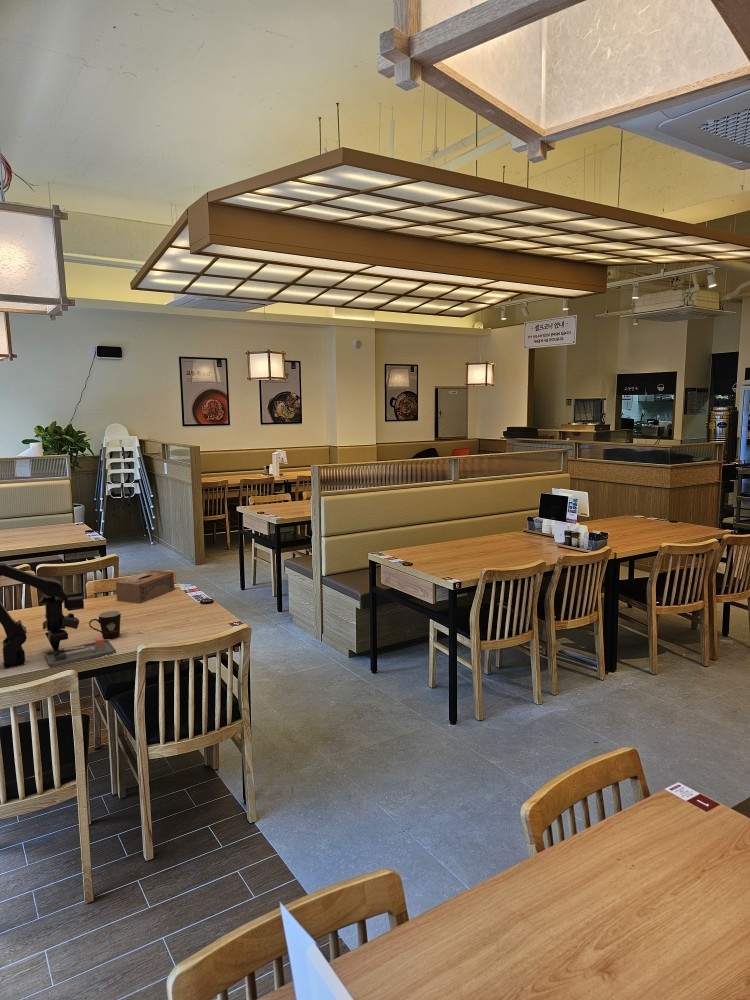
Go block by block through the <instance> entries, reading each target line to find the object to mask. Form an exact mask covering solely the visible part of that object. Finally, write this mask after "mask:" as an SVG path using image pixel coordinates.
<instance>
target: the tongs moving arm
mask: <svg viewBox="0 0 750 1000" xmlns="http://www.w3.org/2000/svg"><path fill="white" fill-rule="evenodd" d="M71 647H72V648H68V647H64V648H58V649H54V657H55V654H59V653H64V652H70V651H75V650H80V649H85V646H79V647H73V646H71Z"/></svg>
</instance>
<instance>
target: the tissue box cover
mask: <svg viewBox="0 0 750 1000" xmlns="http://www.w3.org/2000/svg"><path fill="white" fill-rule="evenodd" d="M174 574H175V572H174V571H164V570H153V569H152V570H148V571H146V572H142V573H138V574H136V575H134V576H130V577H126V578H124V579H121V580H119V581H115V591H116V602H122V603H130V604H131V603H132V604H136V605H137V604H138V605H139V604H140V605H141V604H143V603H145V602H146V603H147V602H148V601H150V600H154V599H155V598H158V597H160V596H163V595H166V594H169V593H171V592H174V591H175V577H174V576H175V575H174ZM173 590H174V591H173ZM168 592H169V593H168Z"/></svg>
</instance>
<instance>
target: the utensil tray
mask: <svg viewBox="0 0 750 1000" xmlns="http://www.w3.org/2000/svg"><path fill="white" fill-rule="evenodd" d="M91 645H96V641H94V642H89V643H83V644H80V645H79V644H78V645H75V646H70V647H69V646H68V647H67V648H72V647H79V646H85V648H87V647H88V646H91ZM104 645H105V650H104V651H99V652H96V653H93V654H89V655H84V656H79V657H75V658H70V659H65V660H61V661H55V657H54V650H53V649H52V650H48V651H44V654H43V655H44V657H45V660H46V663H47V662H48V663H47V665H48V667H49V669H51V668H57V667H60V666H61V667H62V666H66V665H70V664H74V663H75V662H76V663H78V662H79V663H80V662H85V661H89V660H93V659H98V658H103V657H102V656H104V657H106V656H105V655H108V656H110V655H109V654H113V653H116V654H117V649H116V648H115V647H114V646H113V645H112V643H111V641H109V640H105V639H104ZM113 655H114V654H113ZM76 663H75V664H76Z"/></svg>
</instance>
